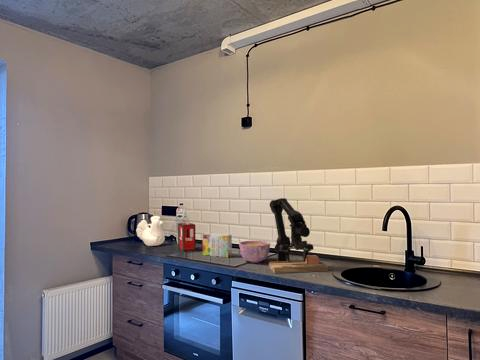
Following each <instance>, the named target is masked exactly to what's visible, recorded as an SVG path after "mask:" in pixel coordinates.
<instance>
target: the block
mask: <svg viewBox="0 0 480 360" xmlns="http://www.w3.org/2000/svg"><path fill="white" fill-rule="evenodd" d="M319 257H320V256H317V255H316V254H314V255H313V254H312V255H308V254H307V257H306V260H305V262H306V263H307V264H308V265H312V264H319V261H320V258H319Z"/></svg>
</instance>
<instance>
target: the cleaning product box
mask: <svg viewBox="0 0 480 360" xmlns="http://www.w3.org/2000/svg"><path fill="white" fill-rule="evenodd" d="M196 239H197V237H196V224H195V223H191V222H180V223H179V222H178V223H177V249H178V250H179V249H180V250H182V251H183V252H187V251H196V246H197V245H196V241H197V240H196ZM180 250H179V251H180ZM182 251H181V252H182ZM183 252H182V253H183ZM196 252H197V251H196ZM187 253H188V252H187Z"/></svg>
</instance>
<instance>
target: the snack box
mask: <svg viewBox="0 0 480 360" xmlns="http://www.w3.org/2000/svg"><path fill="white" fill-rule="evenodd" d="M232 237H233V234H229V233H228V234H226V233H223V234H222V233H212V232H211V233H210V232H209V233H207V232H206V233H202V256H206V255H210V256H209V257H216V256H219V258H225V257H226V258H227V259H228V258H233V257H232V254H233V253H232V252H233V251H232V249H233V248H232V245H233V243H232V241H233V240H232V239H233V238H232Z"/></svg>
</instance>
